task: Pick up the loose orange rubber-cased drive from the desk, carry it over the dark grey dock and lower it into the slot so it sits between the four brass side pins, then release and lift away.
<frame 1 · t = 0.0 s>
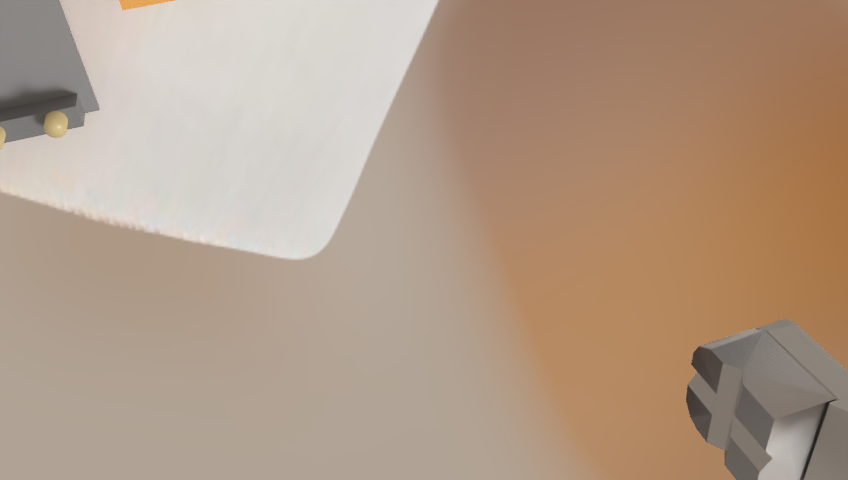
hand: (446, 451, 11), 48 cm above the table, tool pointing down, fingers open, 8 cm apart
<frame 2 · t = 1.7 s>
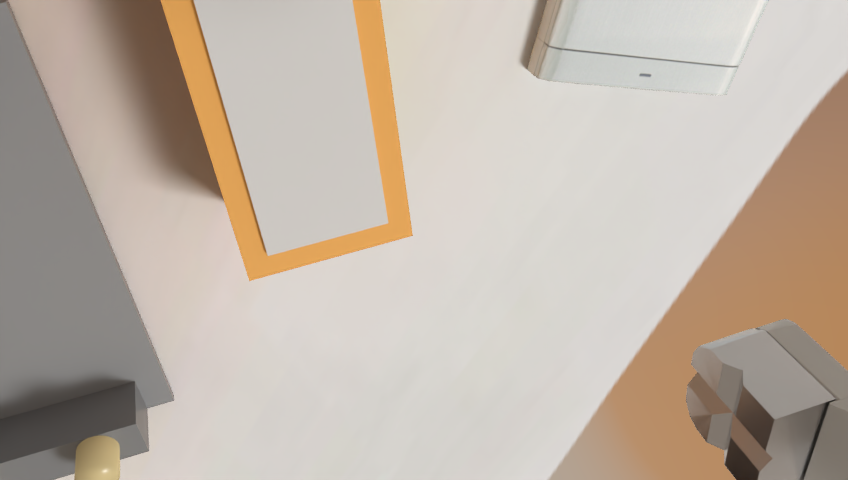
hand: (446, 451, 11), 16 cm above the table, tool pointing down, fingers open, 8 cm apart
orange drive: (272, 44, 23), on the table
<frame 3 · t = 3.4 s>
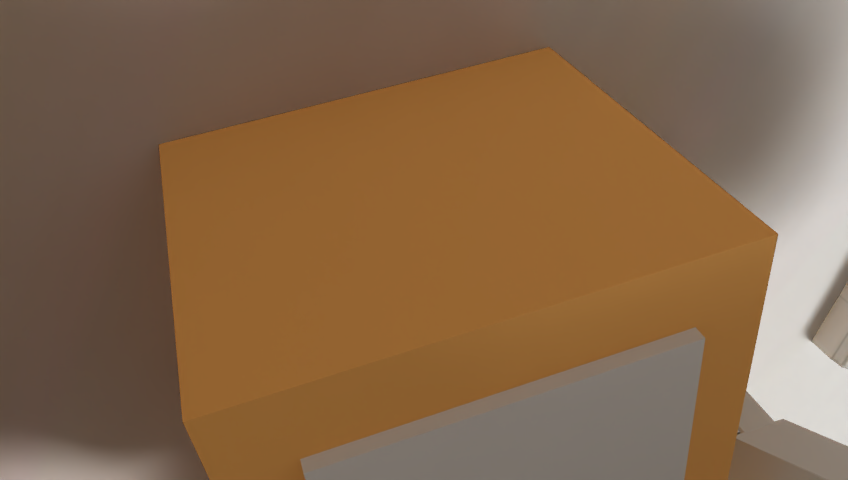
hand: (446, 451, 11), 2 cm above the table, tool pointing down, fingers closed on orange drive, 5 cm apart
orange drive: (412, 369, 13), on the table, touching gripper
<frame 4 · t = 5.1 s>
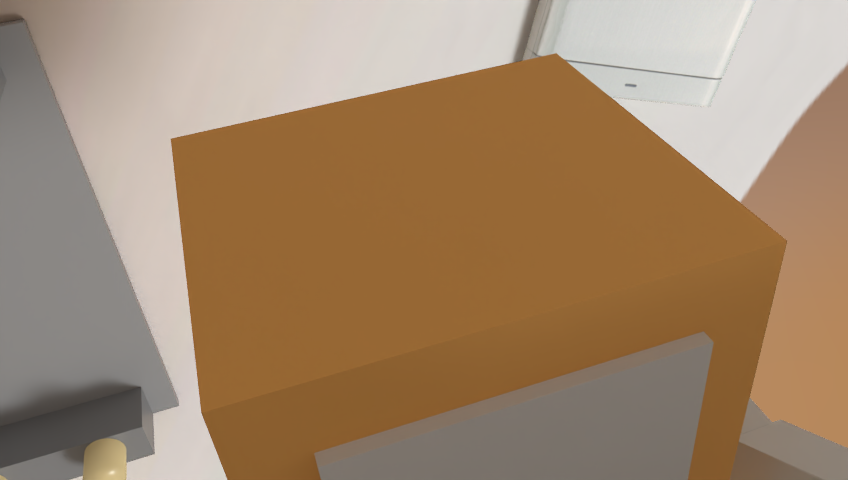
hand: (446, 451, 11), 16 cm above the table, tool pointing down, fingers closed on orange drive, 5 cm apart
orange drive: (412, 372, 13), point 15 cm above the table, touching gripper
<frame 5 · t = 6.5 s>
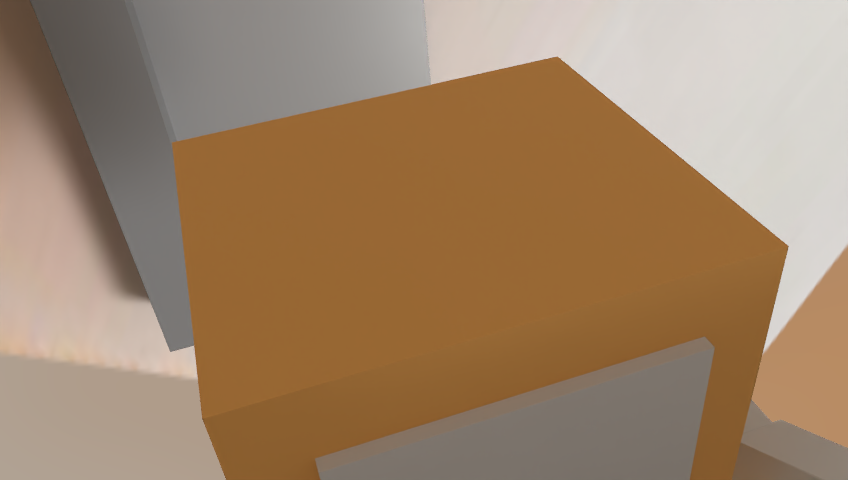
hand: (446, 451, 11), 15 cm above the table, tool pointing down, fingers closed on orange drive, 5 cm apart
dock: (280, 61, 23), on the table
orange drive: (413, 375, 13), point 13 cm above the table, touching gripper
when the fingers open (3 cm above the table, at t = 8.9 s): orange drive drops 1 cm, resting on dock.
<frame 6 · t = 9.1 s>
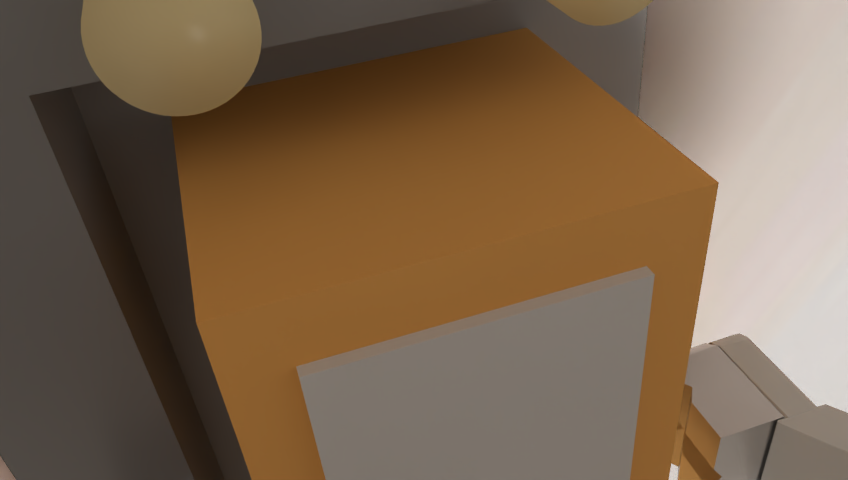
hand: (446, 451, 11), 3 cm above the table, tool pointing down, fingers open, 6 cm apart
dock: (388, 320, 14), on the table
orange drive: (395, 332, 13), resting on dock
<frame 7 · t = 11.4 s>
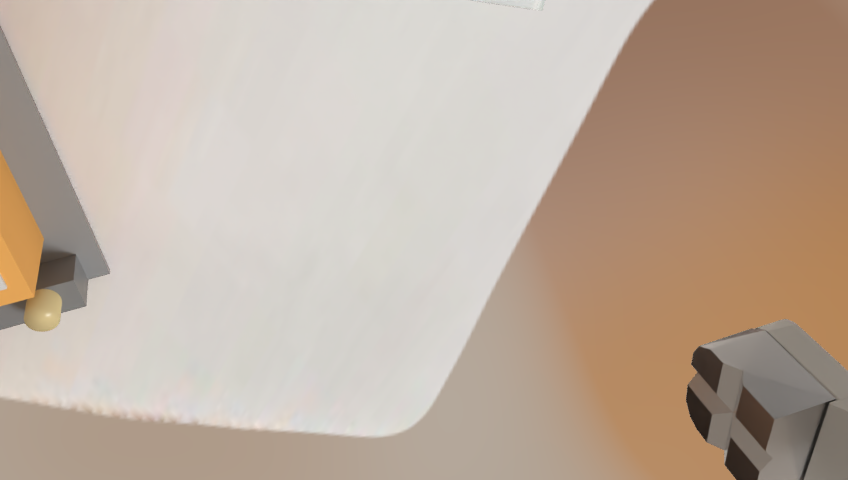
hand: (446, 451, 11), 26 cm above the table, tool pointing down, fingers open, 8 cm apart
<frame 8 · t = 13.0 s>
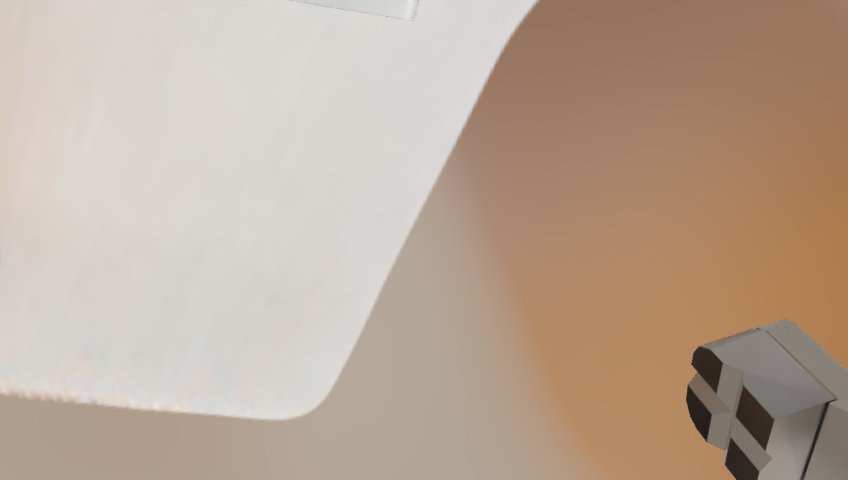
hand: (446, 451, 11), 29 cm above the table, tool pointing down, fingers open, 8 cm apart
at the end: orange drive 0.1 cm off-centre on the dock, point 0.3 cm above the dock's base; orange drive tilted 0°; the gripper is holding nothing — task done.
